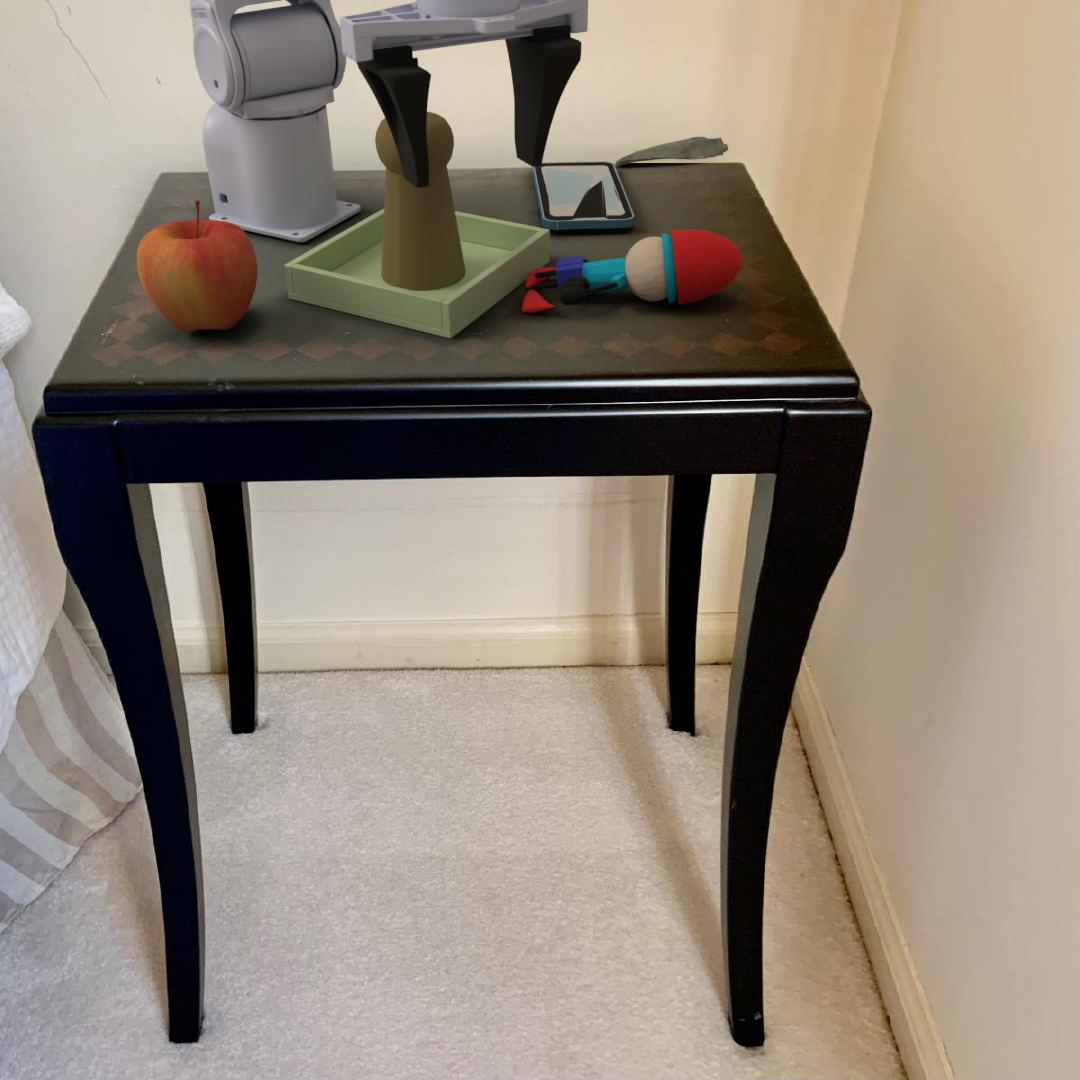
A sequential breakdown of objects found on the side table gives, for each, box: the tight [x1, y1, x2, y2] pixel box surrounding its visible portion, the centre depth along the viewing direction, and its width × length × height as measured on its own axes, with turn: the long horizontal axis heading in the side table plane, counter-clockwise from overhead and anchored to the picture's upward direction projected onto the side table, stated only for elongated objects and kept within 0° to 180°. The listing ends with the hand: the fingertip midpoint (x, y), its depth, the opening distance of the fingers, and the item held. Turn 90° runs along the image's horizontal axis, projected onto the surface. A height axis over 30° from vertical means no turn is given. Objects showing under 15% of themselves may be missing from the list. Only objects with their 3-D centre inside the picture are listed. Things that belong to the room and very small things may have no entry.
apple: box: [136, 199, 258, 334], centre depth 70 cm, size 7×7×8 cm
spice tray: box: [283, 208, 551, 339], centre depth 78 cm, size 13×14×2 cm
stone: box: [615, 136, 729, 167], centre depth 100 cm, size 11×2×5 cm
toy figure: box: [521, 228, 743, 314], centre depth 75 cm, size 8×5×15 cm
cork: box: [374, 111, 466, 291], centre depth 75 cm, size 6×6×11 cm
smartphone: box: [532, 161, 636, 232], centre depth 91 cm, size 7×1×15 cm
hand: (474, 171), depth 66 cm, fingers open, 7 cm apart
